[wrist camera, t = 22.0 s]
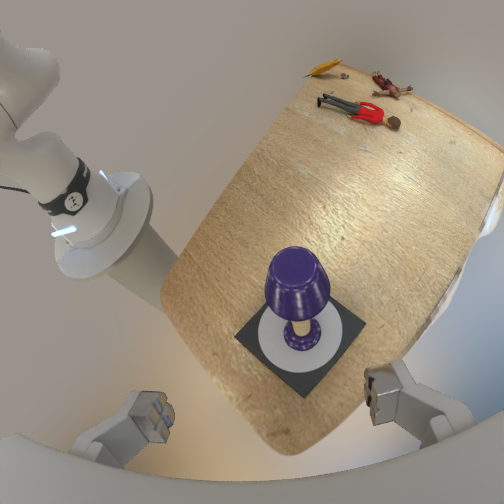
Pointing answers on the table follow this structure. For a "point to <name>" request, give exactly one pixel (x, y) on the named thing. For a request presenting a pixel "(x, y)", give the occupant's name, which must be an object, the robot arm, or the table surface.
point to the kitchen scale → (301, 362)
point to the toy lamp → (297, 295)
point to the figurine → (387, 86)
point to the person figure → (361, 110)
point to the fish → (324, 67)
